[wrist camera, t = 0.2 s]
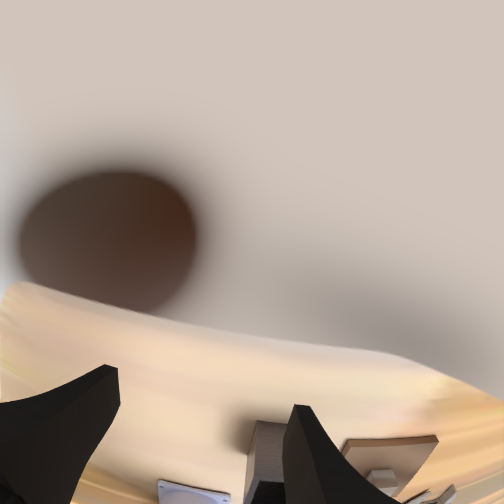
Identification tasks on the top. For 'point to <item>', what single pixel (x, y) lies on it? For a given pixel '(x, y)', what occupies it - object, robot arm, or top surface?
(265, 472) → the hollow square tube
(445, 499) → the adjustable wrench
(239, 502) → the top surface
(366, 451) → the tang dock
